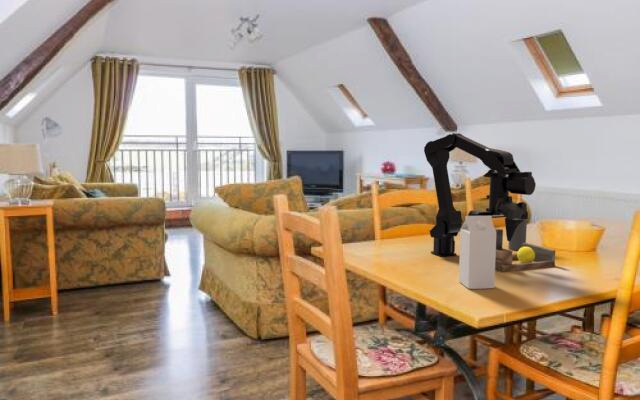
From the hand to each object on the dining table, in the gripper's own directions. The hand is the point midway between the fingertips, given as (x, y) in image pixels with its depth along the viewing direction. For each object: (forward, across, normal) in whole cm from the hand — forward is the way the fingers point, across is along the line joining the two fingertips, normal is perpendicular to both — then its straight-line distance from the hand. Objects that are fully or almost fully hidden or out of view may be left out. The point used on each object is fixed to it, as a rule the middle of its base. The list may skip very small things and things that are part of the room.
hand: (497, 242), depth 157 cm
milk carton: (+8, -20, -16) cm, 27 cm away
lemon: (+8, +12, 0) cm, 14 cm away
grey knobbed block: (+8, 0, 0) cm, 8 cm away
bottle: (+8, +24, +18) cm, 31 cm away
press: (+8, +6, 0) cm, 10 cm away
